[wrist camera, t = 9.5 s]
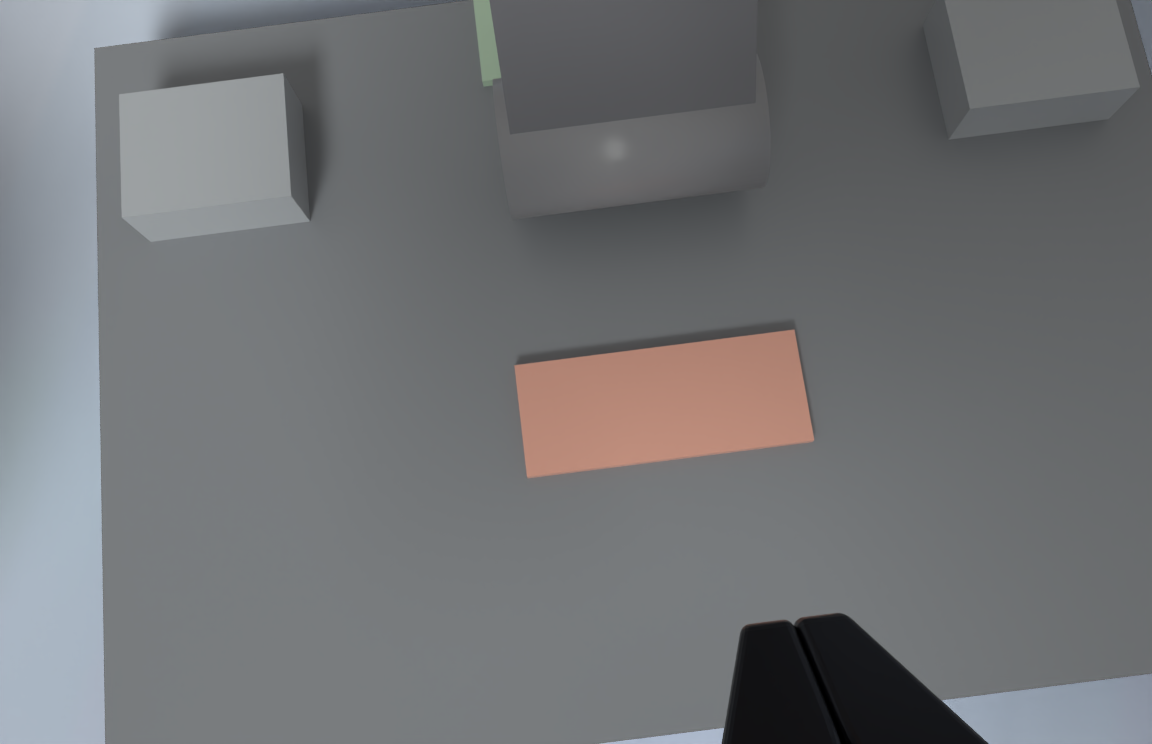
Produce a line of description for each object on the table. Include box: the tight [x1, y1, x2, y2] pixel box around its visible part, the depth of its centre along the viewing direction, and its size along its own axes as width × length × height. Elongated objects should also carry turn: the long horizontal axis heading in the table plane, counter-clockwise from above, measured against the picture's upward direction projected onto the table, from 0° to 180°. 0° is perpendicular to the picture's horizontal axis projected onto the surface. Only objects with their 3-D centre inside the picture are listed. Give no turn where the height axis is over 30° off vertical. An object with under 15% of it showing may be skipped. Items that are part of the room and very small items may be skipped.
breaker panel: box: [94, 0, 1152, 744], centre depth 19 cm, size 14×20×3 cm
